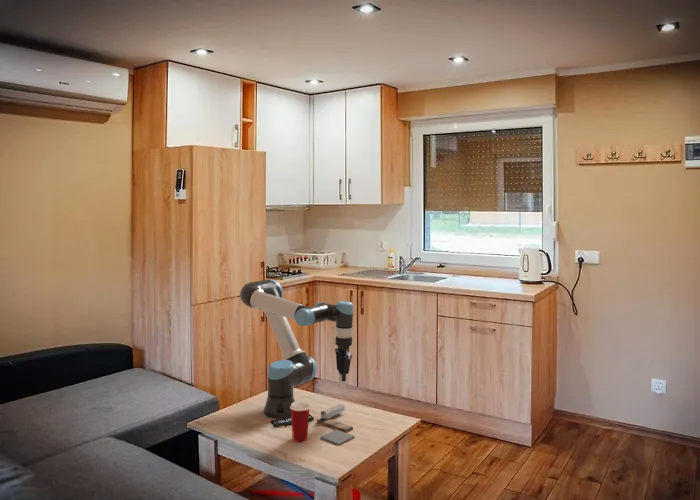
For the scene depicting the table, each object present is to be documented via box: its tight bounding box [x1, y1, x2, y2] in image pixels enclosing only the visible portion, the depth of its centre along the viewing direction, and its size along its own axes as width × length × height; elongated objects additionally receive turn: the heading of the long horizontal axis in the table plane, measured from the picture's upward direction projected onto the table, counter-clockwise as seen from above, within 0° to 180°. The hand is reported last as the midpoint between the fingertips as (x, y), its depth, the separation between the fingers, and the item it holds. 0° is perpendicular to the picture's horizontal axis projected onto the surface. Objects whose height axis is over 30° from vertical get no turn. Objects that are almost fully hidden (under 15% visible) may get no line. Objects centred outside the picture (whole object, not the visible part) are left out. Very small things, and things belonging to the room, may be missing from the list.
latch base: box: [316, 417, 354, 434], centre depth 251 cm, size 17×4×1 cm, turn 51°
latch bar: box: [320, 403, 346, 419], centre depth 260 cm, size 15×3×3 cm, turn 144°
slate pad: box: [320, 429, 355, 446], centre depth 238 cm, size 10×10×1 cm
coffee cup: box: [290, 400, 311, 443], centre depth 236 cm, size 8×8×15 cm
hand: (342, 387), depth 260 cm, fingers closed
